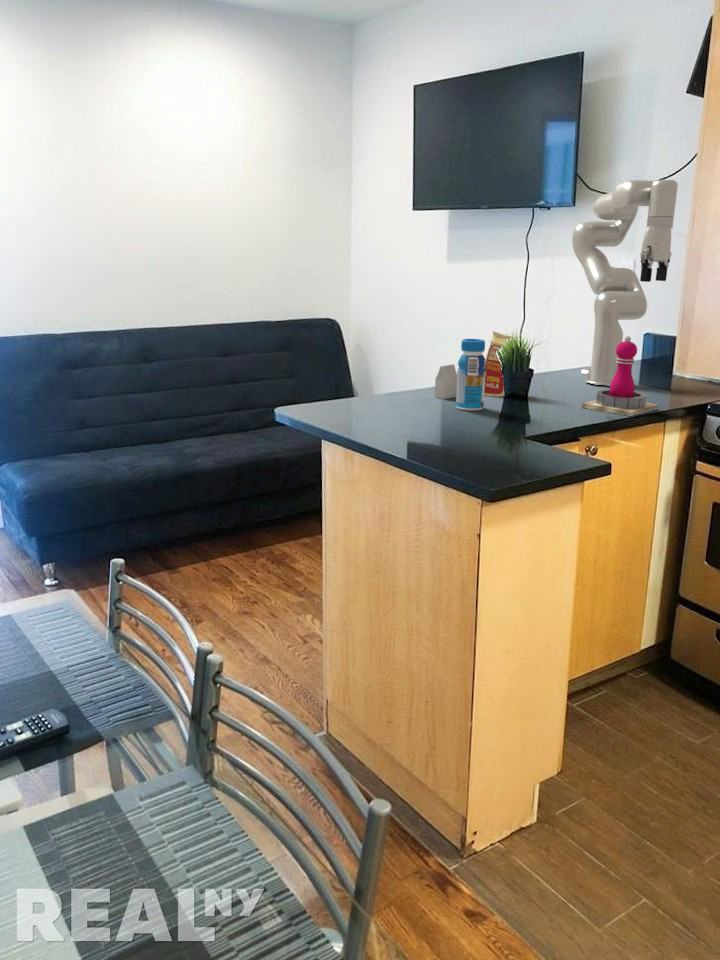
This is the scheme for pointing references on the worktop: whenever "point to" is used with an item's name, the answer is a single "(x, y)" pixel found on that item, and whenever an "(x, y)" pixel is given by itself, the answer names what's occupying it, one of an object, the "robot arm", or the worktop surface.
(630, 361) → the pepper mill
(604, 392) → the steel ring collar
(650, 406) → the birch board
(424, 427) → the worktop surface
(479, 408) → the beverage bottle
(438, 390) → the tea bag
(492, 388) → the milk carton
